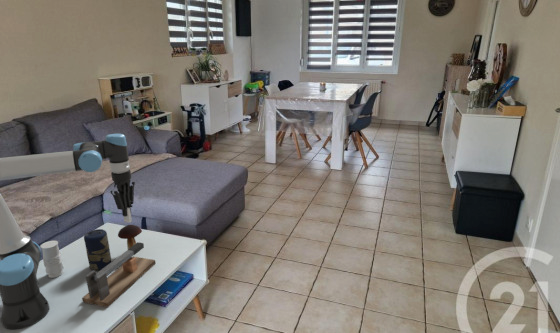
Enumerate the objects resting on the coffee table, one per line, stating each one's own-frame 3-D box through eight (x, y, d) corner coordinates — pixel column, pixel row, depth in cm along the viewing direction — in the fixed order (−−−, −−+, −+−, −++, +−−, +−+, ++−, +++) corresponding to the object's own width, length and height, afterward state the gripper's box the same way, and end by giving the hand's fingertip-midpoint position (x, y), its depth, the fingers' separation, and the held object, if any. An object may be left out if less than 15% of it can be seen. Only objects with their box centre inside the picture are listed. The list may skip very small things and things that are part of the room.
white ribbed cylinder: (44, 274, 166) (38, 244, 161) (61, 267, 171) (55, 238, 166) (49, 280, 161) (42, 250, 157) (66, 273, 166) (60, 244, 162)
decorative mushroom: (130, 260, 176) (126, 232, 171) (116, 254, 181) (111, 227, 177) (149, 250, 185) (145, 223, 180) (134, 244, 190) (131, 218, 186)
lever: (91, 281, 145) (90, 277, 144) (137, 246, 172) (137, 242, 171) (99, 283, 144) (98, 278, 143) (144, 247, 171) (143, 243, 170)
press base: (82, 302, 147) (77, 276, 143) (133, 260, 176) (130, 237, 173) (107, 307, 144) (103, 281, 140) (155, 263, 173) (152, 241, 170)
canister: (103, 272, 167) (96, 237, 161) (85, 270, 169) (78, 235, 163) (116, 261, 176) (110, 227, 170) (98, 259, 178) (92, 225, 172)
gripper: (117, 176, 147) (125, 229, 154) (138, 166, 159) (144, 216, 166) (102, 174, 149) (110, 227, 156) (123, 165, 161) (130, 214, 168)
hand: (128, 221), depth 161 cm, fingers closed
